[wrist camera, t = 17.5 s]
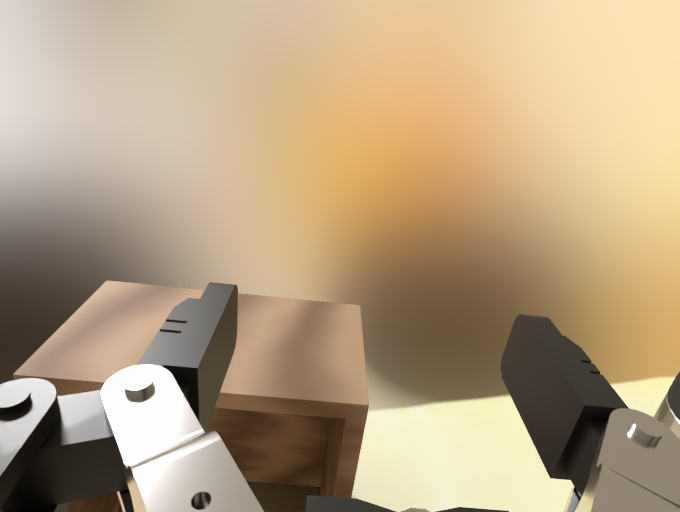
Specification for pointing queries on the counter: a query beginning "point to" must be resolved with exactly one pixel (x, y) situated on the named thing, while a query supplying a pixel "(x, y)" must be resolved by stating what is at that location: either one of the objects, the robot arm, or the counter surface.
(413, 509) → the salt shaker
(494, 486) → the counter surface
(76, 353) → the cubby
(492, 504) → the counter surface
